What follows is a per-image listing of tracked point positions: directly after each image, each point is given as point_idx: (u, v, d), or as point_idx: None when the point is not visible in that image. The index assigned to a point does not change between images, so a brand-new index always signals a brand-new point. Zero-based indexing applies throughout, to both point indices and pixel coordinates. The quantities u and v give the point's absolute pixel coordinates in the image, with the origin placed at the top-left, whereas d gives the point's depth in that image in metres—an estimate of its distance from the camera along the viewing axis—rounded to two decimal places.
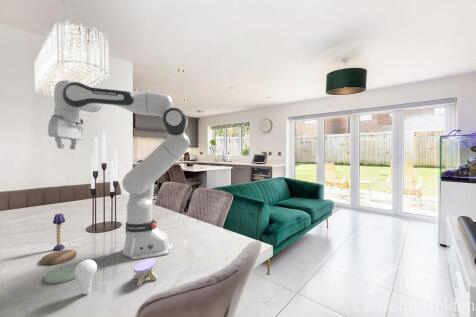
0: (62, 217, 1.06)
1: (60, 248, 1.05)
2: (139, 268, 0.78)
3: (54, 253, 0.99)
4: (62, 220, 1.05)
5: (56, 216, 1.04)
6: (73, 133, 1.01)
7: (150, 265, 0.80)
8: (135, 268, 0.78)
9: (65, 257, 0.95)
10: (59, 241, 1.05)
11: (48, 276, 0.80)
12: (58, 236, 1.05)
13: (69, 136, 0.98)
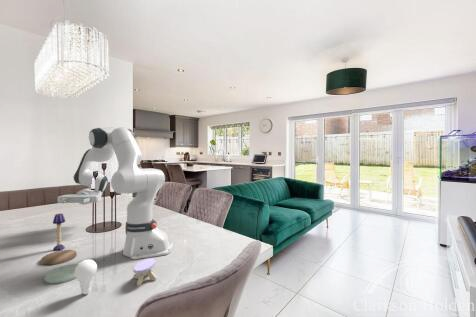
0: (62, 217, 1.06)
1: (60, 248, 1.05)
2: (138, 268, 0.78)
3: (54, 253, 0.99)
4: (62, 220, 1.05)
5: (56, 216, 1.04)
6: (81, 195, 1.25)
7: (149, 265, 0.80)
8: (134, 268, 0.78)
9: (65, 257, 0.95)
10: (59, 241, 1.05)
11: (48, 276, 0.80)
12: (58, 236, 1.05)
13: (74, 196, 1.23)
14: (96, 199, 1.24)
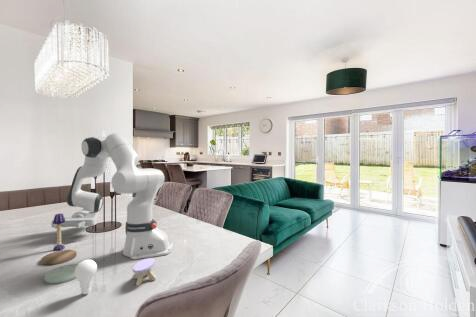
0: (62, 217, 1.06)
1: (60, 248, 1.05)
2: (138, 268, 0.78)
3: (54, 253, 0.99)
4: (62, 220, 1.05)
5: (56, 216, 1.04)
6: (77, 218, 1.19)
7: (149, 265, 0.80)
8: (134, 268, 0.78)
9: (65, 257, 0.95)
10: (59, 241, 1.05)
11: (48, 276, 0.80)
12: (58, 236, 1.05)
13: (69, 219, 1.17)
14: (92, 222, 1.19)
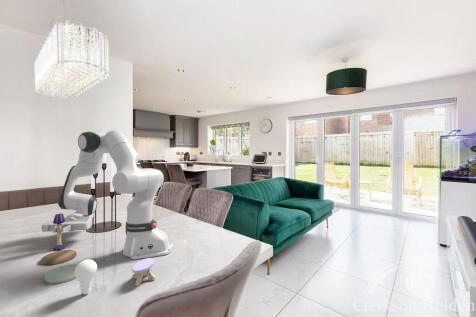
0: (62, 217, 1.06)
1: (60, 248, 1.05)
2: (137, 268, 0.78)
3: (54, 253, 0.99)
4: (62, 220, 1.05)
5: (56, 216, 1.04)
6: (69, 222, 1.12)
7: (148, 265, 0.80)
8: (133, 268, 0.78)
9: (65, 257, 0.95)
10: (59, 241, 1.05)
11: (48, 276, 0.80)
12: (58, 236, 1.05)
13: (61, 223, 1.10)
14: (85, 226, 1.12)
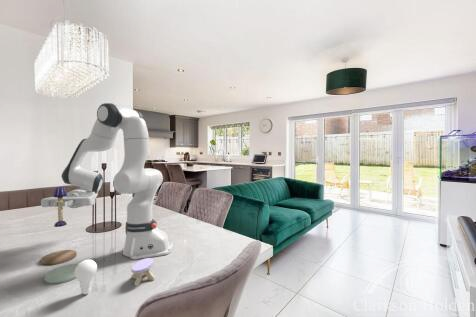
0: (64, 190, 0.97)
1: (62, 224, 0.95)
2: (136, 268, 0.78)
3: (54, 253, 0.99)
4: (64, 193, 0.96)
5: (57, 189, 0.95)
6: (71, 197, 1.03)
7: (148, 265, 0.80)
8: (132, 268, 0.78)
9: (65, 257, 0.95)
10: (61, 216, 0.96)
11: (48, 276, 0.80)
12: (59, 211, 0.96)
13: None
14: (88, 201, 1.02)
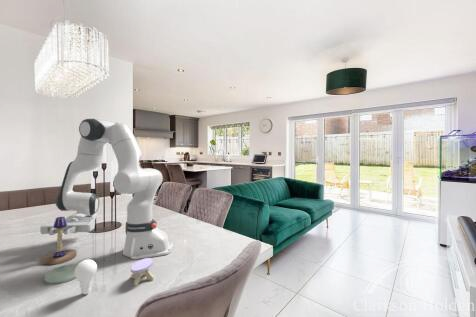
0: (64, 220, 0.96)
1: (61, 255, 0.95)
2: (136, 268, 0.78)
3: (54, 253, 0.99)
4: (64, 224, 0.96)
5: (57, 219, 0.95)
6: (70, 223, 1.02)
7: (147, 265, 0.80)
8: (132, 268, 0.78)
9: (65, 257, 0.95)
10: (60, 247, 0.96)
11: (48, 276, 0.80)
12: (59, 241, 0.95)
13: None
14: (88, 228, 1.02)
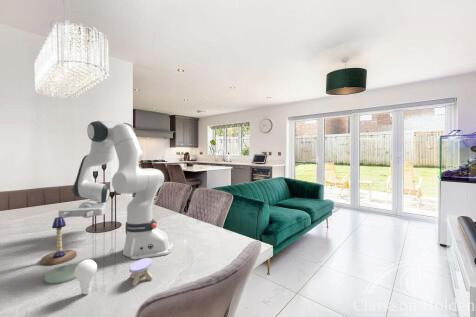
0: (63, 221, 0.96)
1: (61, 255, 0.95)
2: (135, 268, 0.78)
3: (54, 253, 0.99)
4: (63, 224, 0.96)
5: (56, 220, 0.95)
6: (84, 208, 1.15)
7: (146, 265, 0.81)
8: (131, 268, 0.78)
9: (65, 257, 0.95)
10: (60, 247, 0.96)
11: (48, 276, 0.80)
12: (58, 242, 0.95)
13: (77, 209, 1.13)
14: (100, 212, 1.14)
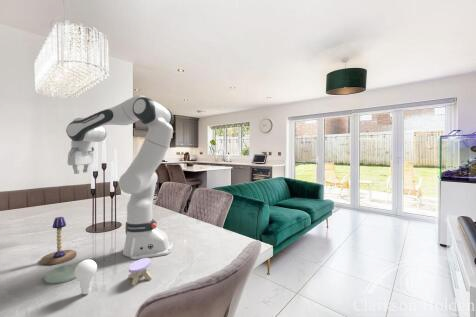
0: (63, 221, 0.96)
1: (61, 255, 0.95)
2: (134, 268, 0.78)
3: (54, 253, 0.99)
4: (63, 224, 0.96)
5: (56, 220, 0.95)
6: (85, 160, 1.23)
7: (145, 265, 0.81)
8: (130, 268, 0.78)
9: (65, 257, 0.95)
10: (60, 247, 0.96)
11: (48, 276, 0.80)
12: (59, 242, 0.95)
13: (83, 163, 1.20)
14: None
